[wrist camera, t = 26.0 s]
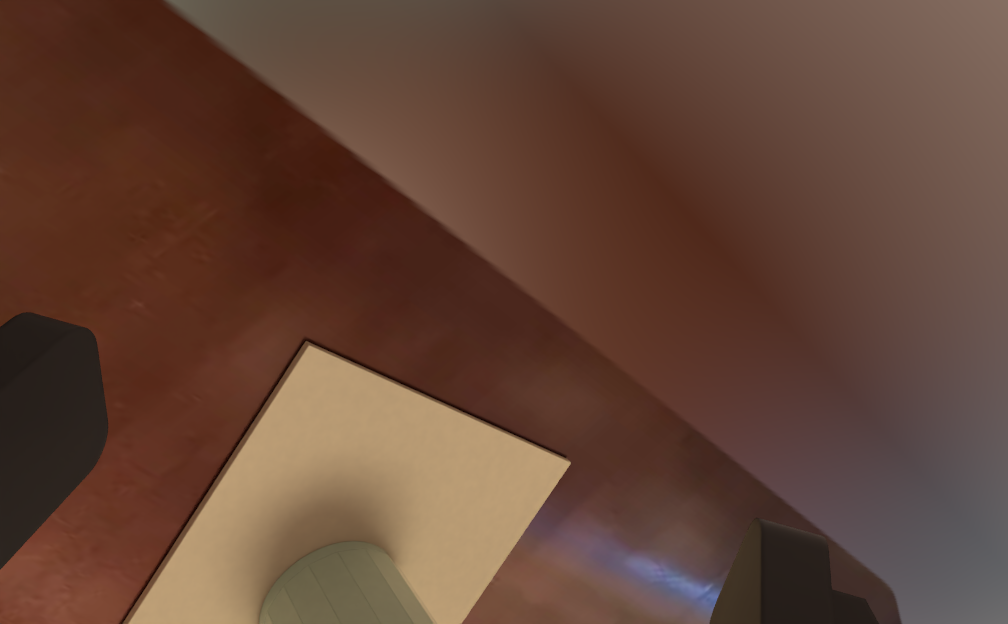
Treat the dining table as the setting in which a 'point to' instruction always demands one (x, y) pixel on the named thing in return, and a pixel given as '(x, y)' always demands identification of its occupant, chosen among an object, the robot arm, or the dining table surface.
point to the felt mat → (353, 496)
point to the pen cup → (344, 590)
